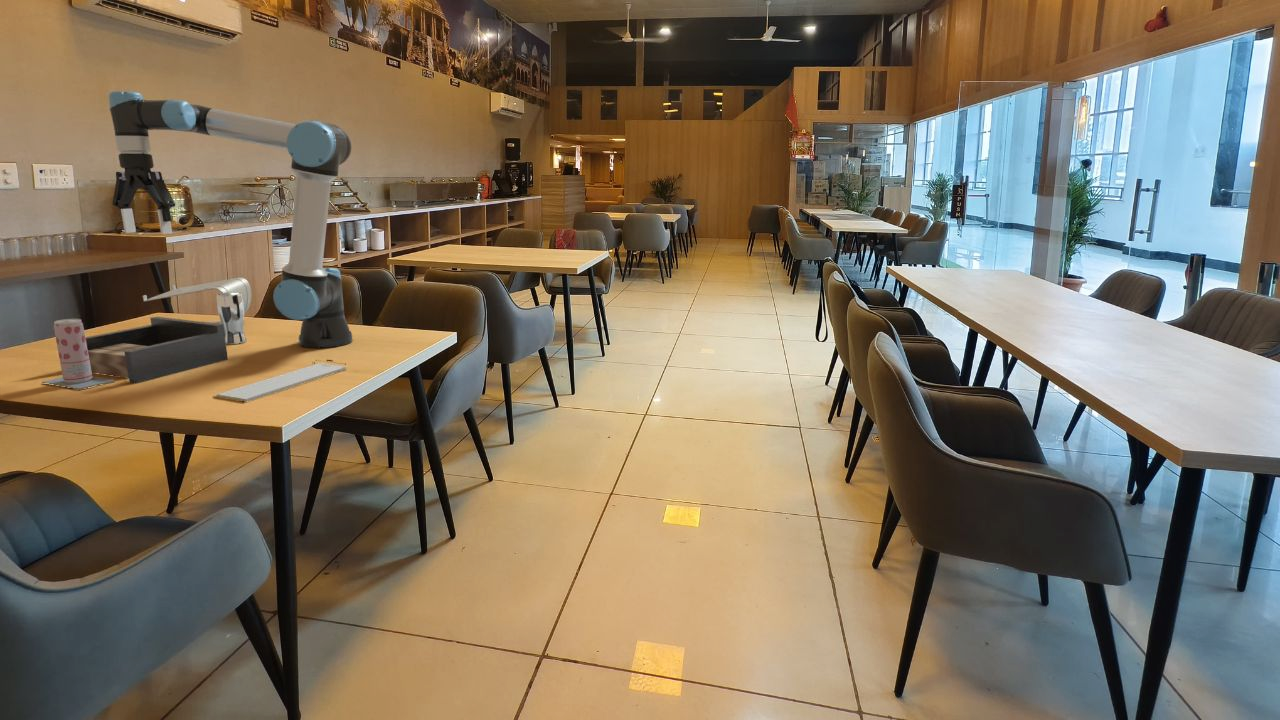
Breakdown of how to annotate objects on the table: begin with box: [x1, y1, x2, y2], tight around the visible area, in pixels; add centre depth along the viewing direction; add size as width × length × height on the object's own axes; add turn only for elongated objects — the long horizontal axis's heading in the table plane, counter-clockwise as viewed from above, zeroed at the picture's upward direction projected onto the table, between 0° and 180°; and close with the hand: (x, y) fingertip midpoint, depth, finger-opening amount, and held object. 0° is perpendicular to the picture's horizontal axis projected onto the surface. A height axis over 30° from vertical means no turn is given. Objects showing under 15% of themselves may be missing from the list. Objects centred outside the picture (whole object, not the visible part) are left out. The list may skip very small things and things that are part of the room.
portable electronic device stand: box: [142, 277, 252, 324], centre depth 237 cm, size 26×24×16 cm
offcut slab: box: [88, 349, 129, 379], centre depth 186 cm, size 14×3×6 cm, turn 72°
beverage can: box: [53, 318, 94, 384], centre depth 176 cm, size 6×6×15 cm
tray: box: [85, 316, 229, 385], centre depth 193 cm, size 26×26×10 cm
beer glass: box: [216, 292, 247, 345], centre depth 220 cm, size 7×7×15 cm
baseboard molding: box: [212, 359, 347, 403], centre depth 181 cm, size 31×3×12 cm
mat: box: [41, 375, 115, 389], centre depth 178 cm, size 14×8×1 cm, turn 69°
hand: (148, 233), depth 200 cm, fingers open, 13 cm apart
